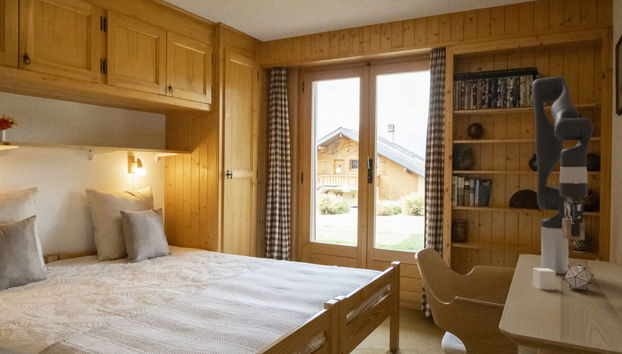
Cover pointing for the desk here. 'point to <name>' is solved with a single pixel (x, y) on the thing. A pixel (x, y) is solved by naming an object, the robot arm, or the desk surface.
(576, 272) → the game die
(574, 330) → the desk surface
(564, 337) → the desk surface
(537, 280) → the white block
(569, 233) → the walnut block
